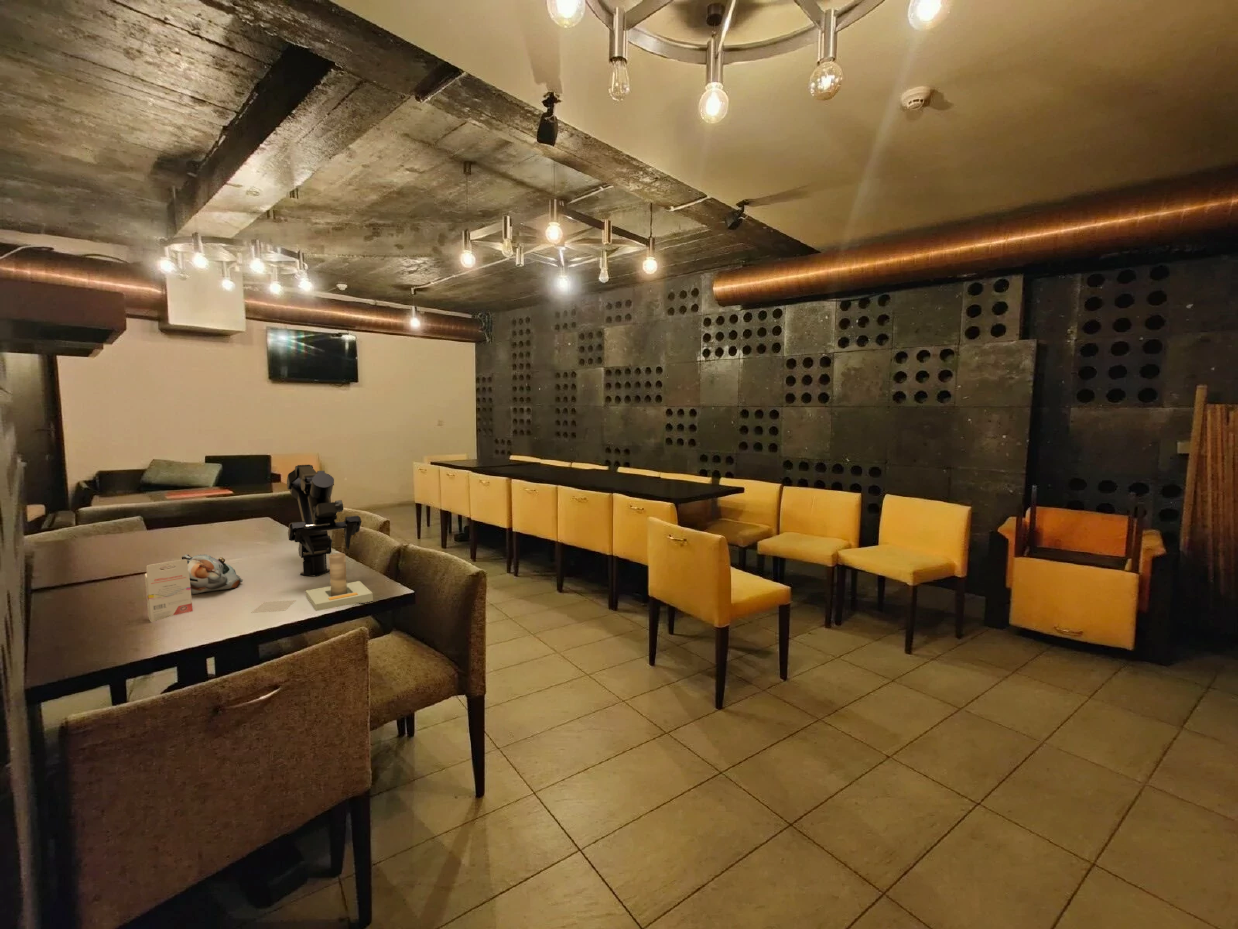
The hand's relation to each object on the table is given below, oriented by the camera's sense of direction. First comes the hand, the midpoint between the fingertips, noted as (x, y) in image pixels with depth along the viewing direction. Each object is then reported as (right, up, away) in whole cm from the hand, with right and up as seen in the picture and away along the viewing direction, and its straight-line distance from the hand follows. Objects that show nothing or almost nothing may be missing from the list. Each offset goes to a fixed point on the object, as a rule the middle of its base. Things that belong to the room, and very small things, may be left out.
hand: (330, 551), depth 155 cm
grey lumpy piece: (-37, -12, +4) cm, 39 cm away
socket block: (+5, -13, -5) cm, 15 cm away
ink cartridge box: (-32, -14, -17) cm, 39 cm away
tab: (-9, -14, -12) cm, 20 cm away
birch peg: (+5, -13, -5) cm, 15 cm away
